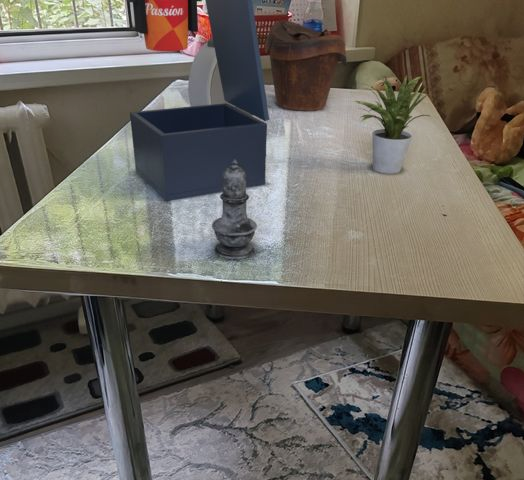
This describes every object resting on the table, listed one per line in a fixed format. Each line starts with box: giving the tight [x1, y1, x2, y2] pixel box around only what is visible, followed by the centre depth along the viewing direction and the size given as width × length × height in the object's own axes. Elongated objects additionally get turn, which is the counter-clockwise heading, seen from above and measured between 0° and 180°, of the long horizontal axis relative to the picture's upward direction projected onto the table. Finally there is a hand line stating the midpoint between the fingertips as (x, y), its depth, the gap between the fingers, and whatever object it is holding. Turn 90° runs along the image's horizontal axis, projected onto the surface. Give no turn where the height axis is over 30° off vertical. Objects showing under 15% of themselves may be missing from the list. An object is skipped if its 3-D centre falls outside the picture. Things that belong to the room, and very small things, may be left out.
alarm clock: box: [187, 36, 253, 116], centre depth 111 cm, size 16×10×18 cm, turn 146°
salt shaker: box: [211, 159, 258, 260], centre depth 69 cm, size 6×6×12 cm
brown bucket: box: [264, 19, 348, 112], centre depth 134 cm, size 18×20×18 cm
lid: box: [204, 0, 270, 122], centre depth 86 cm, size 19×15×6 cm
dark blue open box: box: [129, 103, 268, 202], centre depth 92 cm, size 18×15×10 cm
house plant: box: [354, 73, 433, 175], centre depth 98 cm, size 14×14×16 cm
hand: (167, 31), depth 73 cm, fingers closed on paper cup, 6 cm apart
